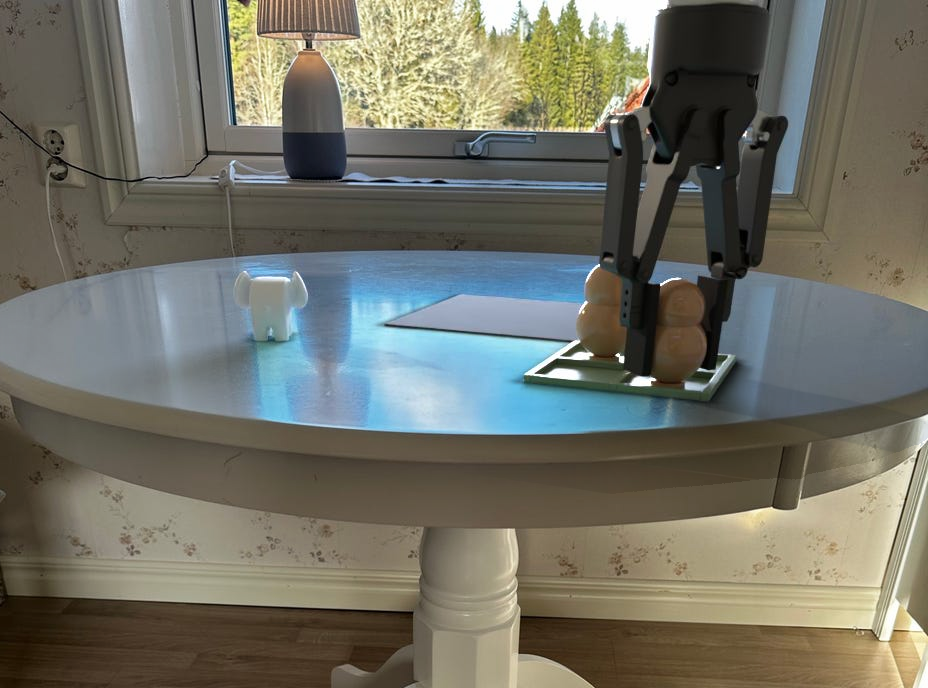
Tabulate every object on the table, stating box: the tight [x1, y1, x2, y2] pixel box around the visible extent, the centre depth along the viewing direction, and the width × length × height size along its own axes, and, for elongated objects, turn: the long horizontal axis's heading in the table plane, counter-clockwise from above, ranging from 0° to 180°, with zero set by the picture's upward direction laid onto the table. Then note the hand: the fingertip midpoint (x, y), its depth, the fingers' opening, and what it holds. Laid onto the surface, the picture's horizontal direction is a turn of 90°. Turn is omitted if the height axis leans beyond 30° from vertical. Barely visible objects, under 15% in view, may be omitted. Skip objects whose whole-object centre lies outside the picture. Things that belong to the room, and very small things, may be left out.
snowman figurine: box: [576, 264, 627, 361], centre depth 79 cm, size 5×5×8 cm
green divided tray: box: [522, 341, 738, 402], centre depth 77 cm, size 14×14×1 cm
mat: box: [383, 293, 585, 343], centre depth 99 cm, size 20×20×1 cm
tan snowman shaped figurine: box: [650, 277, 707, 388], centre depth 72 cm, size 5×5×8 cm
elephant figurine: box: [232, 270, 309, 342], centre depth 88 cm, size 7×8×6 cm
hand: (669, 368), depth 73 cm, fingers closed on tan snowman shaped figurine, 5 cm apart
